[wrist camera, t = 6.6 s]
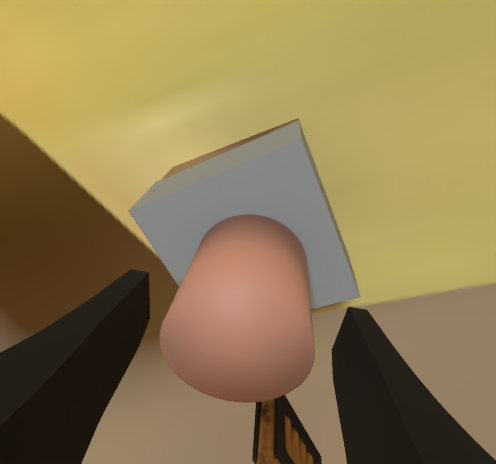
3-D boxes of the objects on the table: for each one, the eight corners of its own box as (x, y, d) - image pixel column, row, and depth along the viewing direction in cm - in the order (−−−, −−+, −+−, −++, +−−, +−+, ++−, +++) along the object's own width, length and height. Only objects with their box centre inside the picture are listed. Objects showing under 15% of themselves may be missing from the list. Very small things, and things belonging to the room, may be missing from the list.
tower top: (298, 120, 13) (301, 138, 11) (348, 256, 16) (360, 296, 14) (155, 182, 15) (128, 210, 13) (222, 293, 18) (211, 335, 16)
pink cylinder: (284, 198, 12) (282, 270, 8) (320, 292, 14) (334, 389, 10) (178, 234, 13) (130, 312, 9) (224, 316, 15) (201, 411, 11)
